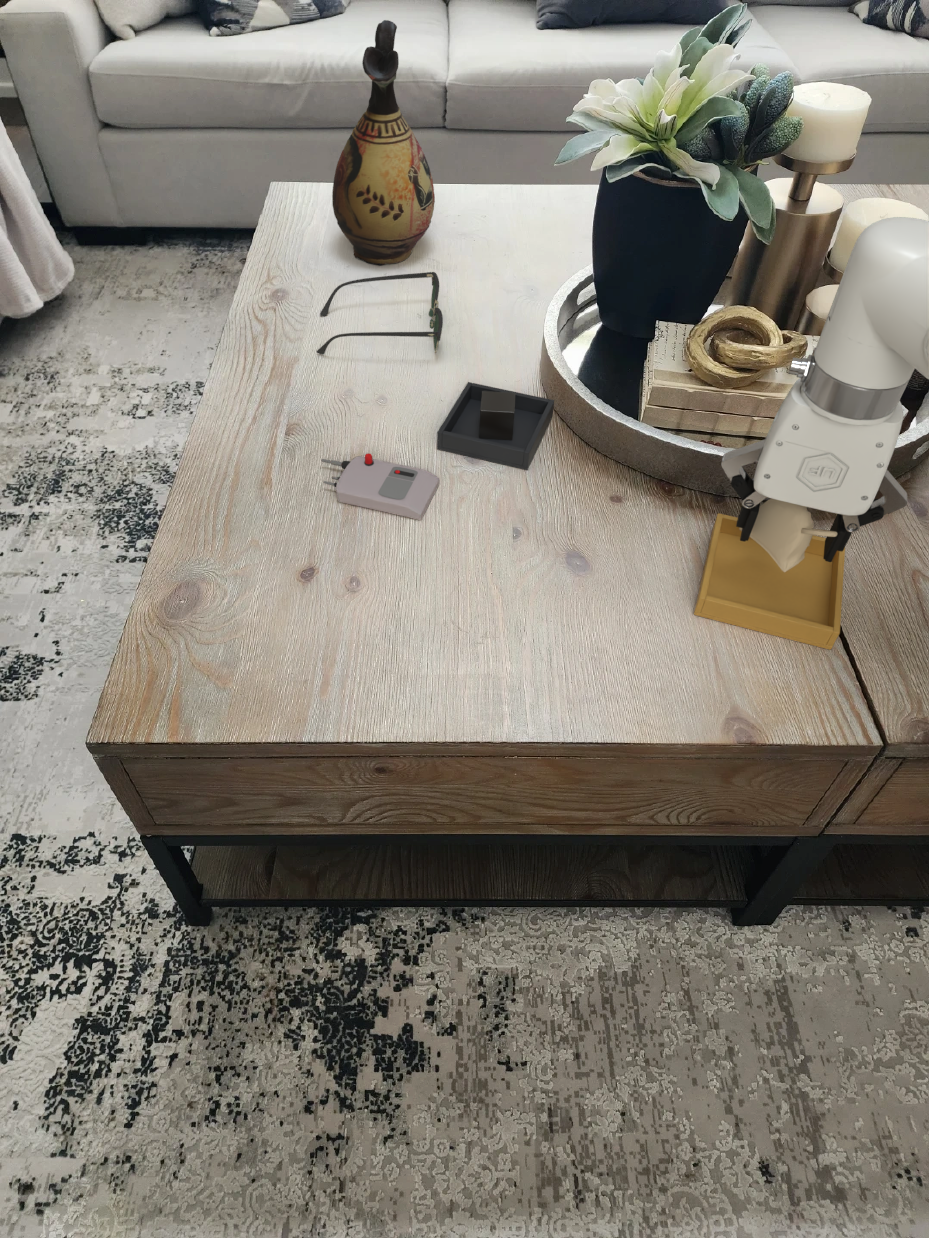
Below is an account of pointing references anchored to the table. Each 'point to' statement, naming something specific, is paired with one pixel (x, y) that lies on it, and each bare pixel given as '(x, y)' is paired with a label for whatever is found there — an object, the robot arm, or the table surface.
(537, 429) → the charcoal tray
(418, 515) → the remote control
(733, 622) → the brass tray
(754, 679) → the table surface
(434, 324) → the sunglasses
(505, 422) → the black block
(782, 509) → the decorative ornament
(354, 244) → the ceramic jug
